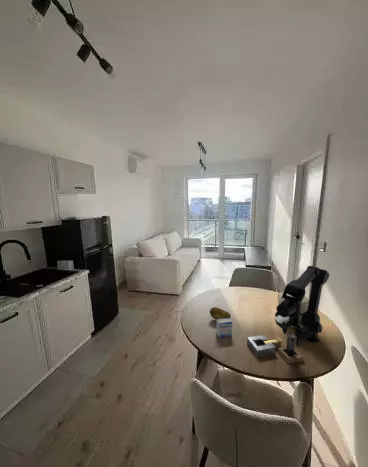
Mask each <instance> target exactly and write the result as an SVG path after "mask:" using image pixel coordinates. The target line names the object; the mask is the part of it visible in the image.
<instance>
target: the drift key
mask: <svg viewBox="0 0 368 467" xmlns="http://www.w3.org/2000/svg"><path fill="white" fill-rule="evenodd" d="M266 343H272V344H273V345H274V346H275V347H276V348H281V347H283V340H282V339H281V338H280V337H278V336H276V337H275V339H268V341H263V345H265V344H266Z"/></svg>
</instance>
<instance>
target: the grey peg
mask: <svg viewBox="0 0 368 467" xmlns="http://www.w3.org/2000/svg"><path fill="white" fill-rule="evenodd" d="M296 342H297V336H296V335H295V333H291V332H290V333H288V334H287V336H286V346H285V347H286V354H287V355H288V356H289V357H291V356H294V352H295V349H296Z"/></svg>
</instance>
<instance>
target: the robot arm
mask: <svg viewBox="0 0 368 467" xmlns="http://www.w3.org/2000/svg"><path fill="white" fill-rule="evenodd" d="M329 278H330V273H329V272H328V270H326V269H322V268H319V267H318V266H314V265H307V267H306V270H305V271H303V273H302V274H300V276H298V278H297V279H295V280H291V281H290V282H288V284H286V286H285V287H284V290H283V291H282V292H283V295H282V298H284V299H285V300H284V301H282V302H281V304H279V303H278V305H276V312H275V313H274V321H275V325H277V326H278V327H279V328H280V329H282V330H281V331H282V333H283V334H284V335H286V334H287V332H288V328H291V327H290V326H293V327H294V328H293V329H295V330H294V335H295V337H296V347H300V346H301V345H302V344H303V342H304V341H305V340H306V341H307V342H308V341H309V342H308V343H310V342H312V343H316V341H318V342H320V341H321V340H320V338H319V337H318V336H319V333H320V334H321V333H322V331H323V325H322V323H321V318H320V315H319V312H318V311H319V307H320V301H321V300H320V299H321V296H322V289H323V287H324V286H325V284H326V283H327V282H328V280H329ZM309 284H311V287H310V288H311V289H310V293H309V297H308V298H309V304H308V309H307V311H306V312H305V313H303V315H302V313H301V312H300V311H301V302H302V300H303V298H304V296H306V293H307V290H306V288H307V287H308V286H309ZM287 294H288V295H291V296H292V297H291V296H288V295H287ZM300 316H302V318H301V321H300ZM299 324H301V325H302V327H301V326H299Z"/></svg>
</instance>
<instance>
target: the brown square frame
mask: <svg viewBox="0 0 368 467" xmlns="http://www.w3.org/2000/svg"><path fill="white" fill-rule="evenodd" d="M286 347H287V346H282V347H277V352H278V354H279V355H280V356H281V357H282V359H284V360H285V362H286V363H287V364H293V363H297V362H303V361H304V355H302V354H301V353H300V352H299V351H298V350H297V349H296V348H295V352H294V356H291V357H289V356H288V355H287V354H286Z"/></svg>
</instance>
